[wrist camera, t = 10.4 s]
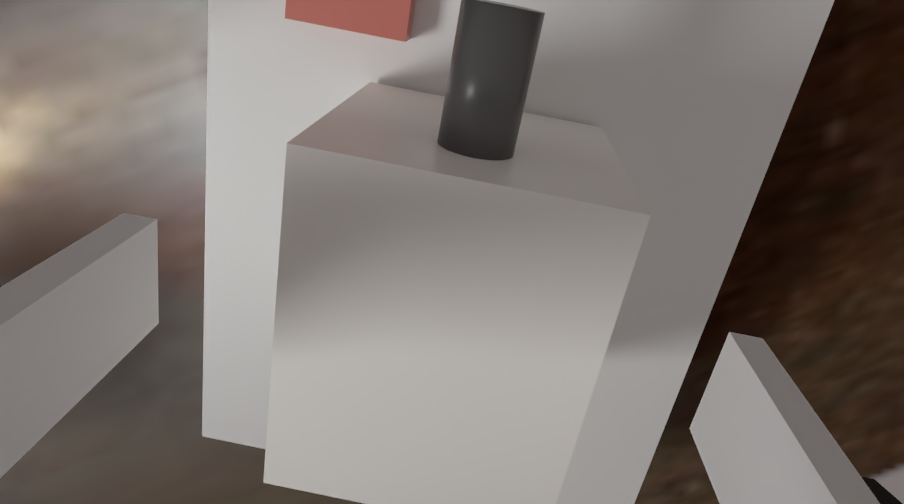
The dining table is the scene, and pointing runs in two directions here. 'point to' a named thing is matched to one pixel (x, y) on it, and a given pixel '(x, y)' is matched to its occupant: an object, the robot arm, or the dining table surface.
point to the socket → (549, 94)
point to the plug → (446, 284)
